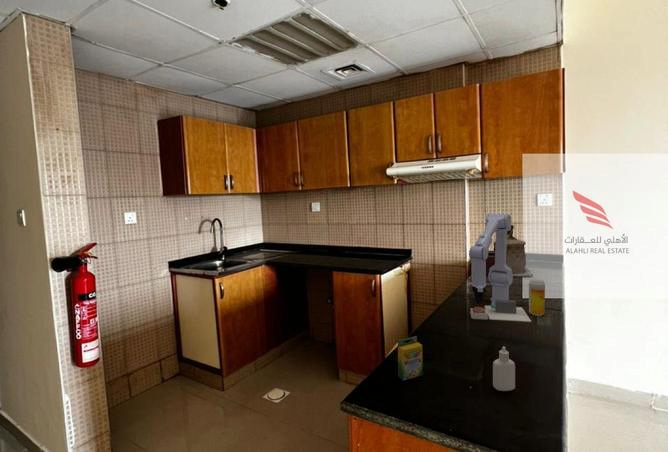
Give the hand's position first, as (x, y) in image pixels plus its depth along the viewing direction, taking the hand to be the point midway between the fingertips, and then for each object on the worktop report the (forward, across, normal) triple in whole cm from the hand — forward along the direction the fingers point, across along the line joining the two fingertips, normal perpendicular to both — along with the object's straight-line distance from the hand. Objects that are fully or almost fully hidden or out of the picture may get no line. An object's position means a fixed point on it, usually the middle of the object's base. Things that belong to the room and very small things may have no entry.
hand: (478, 303), depth 155 cm
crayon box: (+6, +57, -25) cm, 62 cm away
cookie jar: (+6, -87, +27) cm, 92 cm away
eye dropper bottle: (+6, +58, +1) cm, 58 cm away
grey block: (+5, -7, +12) cm, 15 cm away
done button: (+4, 0, 0) cm, 4 cm away
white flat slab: (+6, -6, +12) cm, 15 cm away
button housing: (+6, 0, 0) cm, 6 cm away
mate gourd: (+6, -60, +11) cm, 62 cm away
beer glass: (+6, -7, +24) cm, 26 cm away
